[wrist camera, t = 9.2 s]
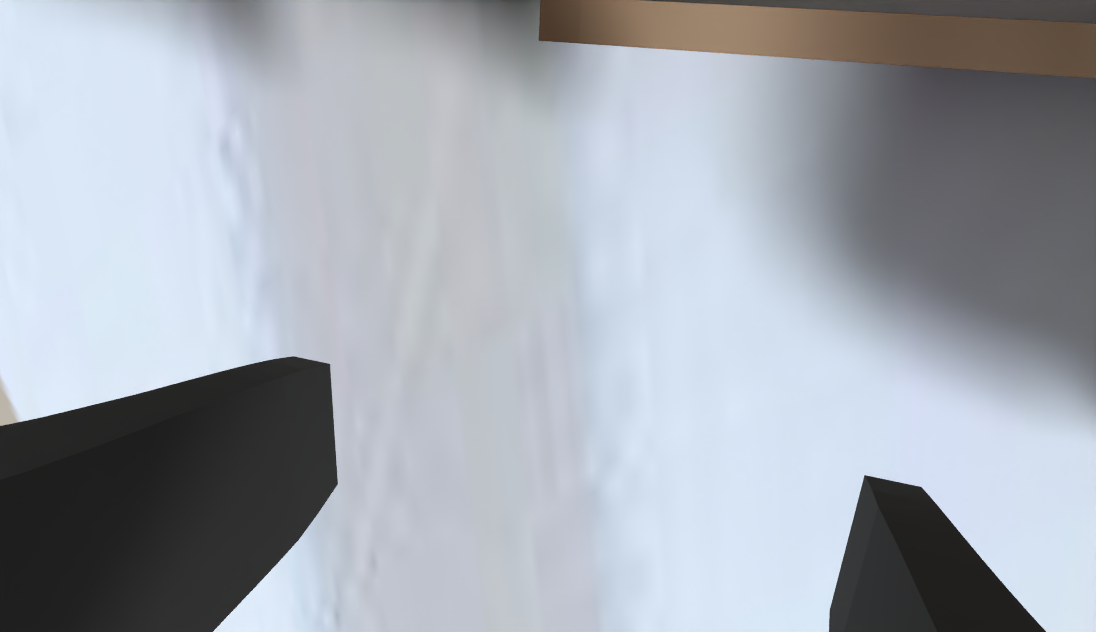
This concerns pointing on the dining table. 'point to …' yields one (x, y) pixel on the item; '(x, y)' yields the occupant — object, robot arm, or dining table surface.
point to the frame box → (828, 35)
